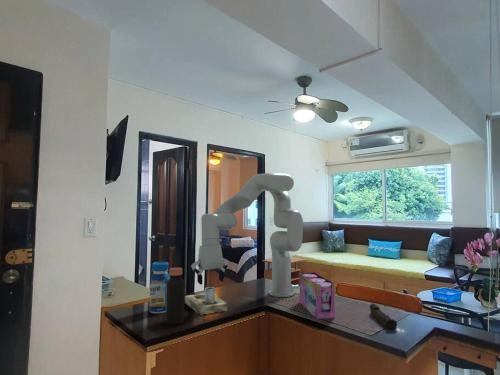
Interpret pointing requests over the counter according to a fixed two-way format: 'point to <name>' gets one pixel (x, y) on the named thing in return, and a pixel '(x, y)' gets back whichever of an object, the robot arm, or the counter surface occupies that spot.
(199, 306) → the jig plate
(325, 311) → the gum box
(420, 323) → the counter surface
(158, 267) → the beverage bottle
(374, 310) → the hand tool
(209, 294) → the steel sleeve
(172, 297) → the vinegar
